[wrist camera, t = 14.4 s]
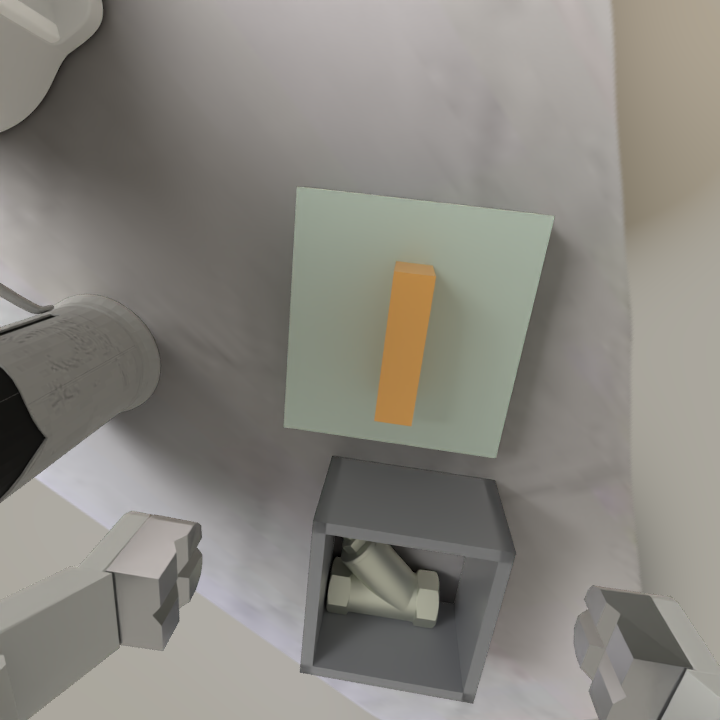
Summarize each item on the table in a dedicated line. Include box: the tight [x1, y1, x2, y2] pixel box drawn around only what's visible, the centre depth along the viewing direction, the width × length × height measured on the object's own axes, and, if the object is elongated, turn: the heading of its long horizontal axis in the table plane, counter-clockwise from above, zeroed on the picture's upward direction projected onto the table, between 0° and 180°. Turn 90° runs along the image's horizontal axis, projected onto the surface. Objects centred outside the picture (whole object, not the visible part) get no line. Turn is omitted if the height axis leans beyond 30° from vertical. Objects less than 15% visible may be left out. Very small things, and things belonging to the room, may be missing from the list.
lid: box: [284, 187, 555, 458], centre depth 26 cm, size 14×13×6 cm
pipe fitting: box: [326, 537, 439, 628], centre depth 34 cm, size 8×4×7 cm
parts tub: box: [300, 456, 516, 703], centre depth 32 cm, size 13×12×7 cm
